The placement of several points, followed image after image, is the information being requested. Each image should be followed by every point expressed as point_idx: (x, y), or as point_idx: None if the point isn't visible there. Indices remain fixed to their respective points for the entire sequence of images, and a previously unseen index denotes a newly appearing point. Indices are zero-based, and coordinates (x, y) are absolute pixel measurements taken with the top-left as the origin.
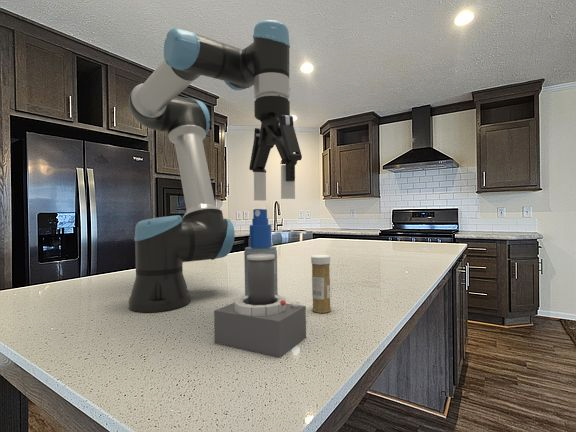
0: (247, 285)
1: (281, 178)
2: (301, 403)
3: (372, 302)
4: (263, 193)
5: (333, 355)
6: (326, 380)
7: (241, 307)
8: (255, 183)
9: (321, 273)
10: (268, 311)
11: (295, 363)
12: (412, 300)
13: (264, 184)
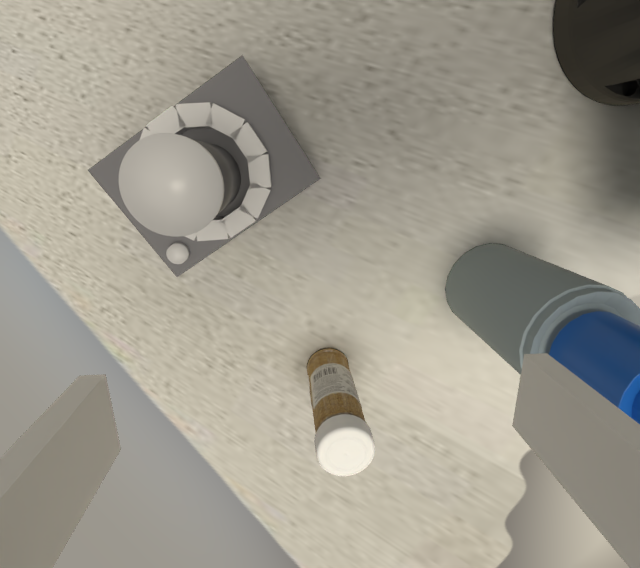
0: (509, 255)
1: (7, 478)
2: None
3: (322, 481)
4: (544, 442)
5: (92, 259)
6: (6, 197)
7: (170, 107)
8: (620, 439)
9: (318, 412)
10: None
11: (85, 182)
12: (291, 548)
13: (595, 511)
